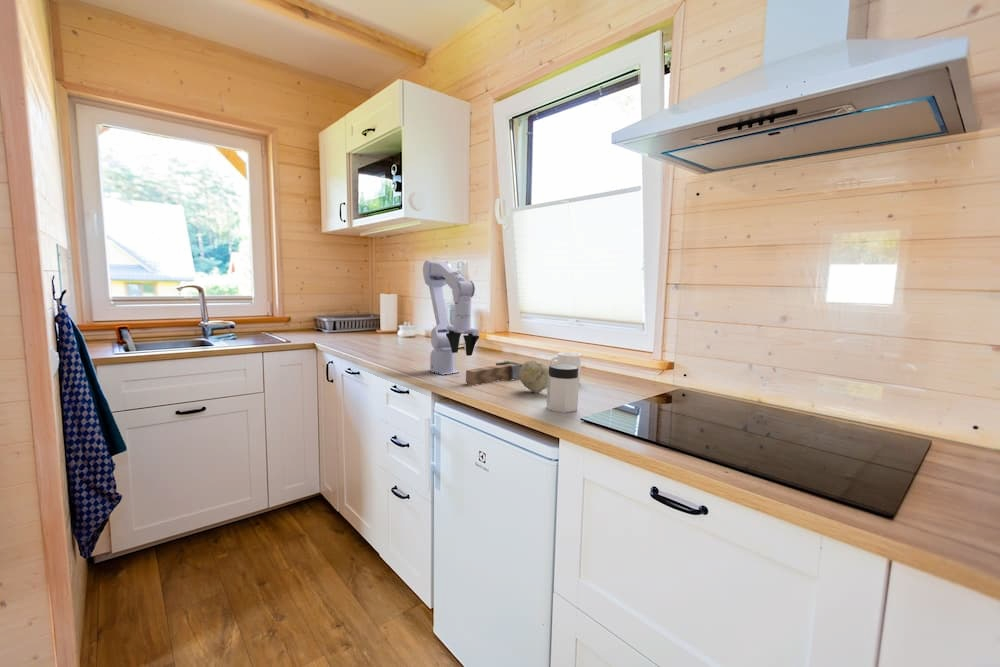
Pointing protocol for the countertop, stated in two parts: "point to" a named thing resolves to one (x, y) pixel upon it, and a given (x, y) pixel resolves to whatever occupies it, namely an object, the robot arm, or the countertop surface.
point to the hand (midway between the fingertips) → (461, 354)
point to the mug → (568, 359)
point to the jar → (562, 388)
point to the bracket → (512, 369)
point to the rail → (487, 374)
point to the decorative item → (534, 375)
